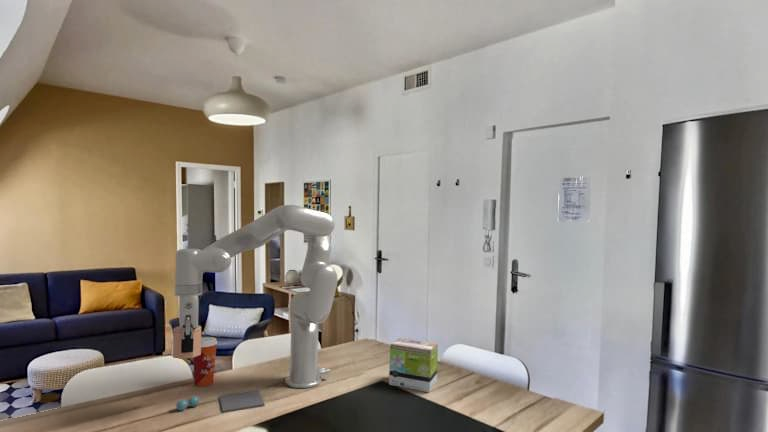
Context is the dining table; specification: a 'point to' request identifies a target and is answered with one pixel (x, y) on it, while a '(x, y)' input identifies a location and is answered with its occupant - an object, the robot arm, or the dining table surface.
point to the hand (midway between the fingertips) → (187, 347)
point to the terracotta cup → (178, 336)
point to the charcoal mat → (241, 401)
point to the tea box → (413, 364)
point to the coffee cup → (205, 362)
